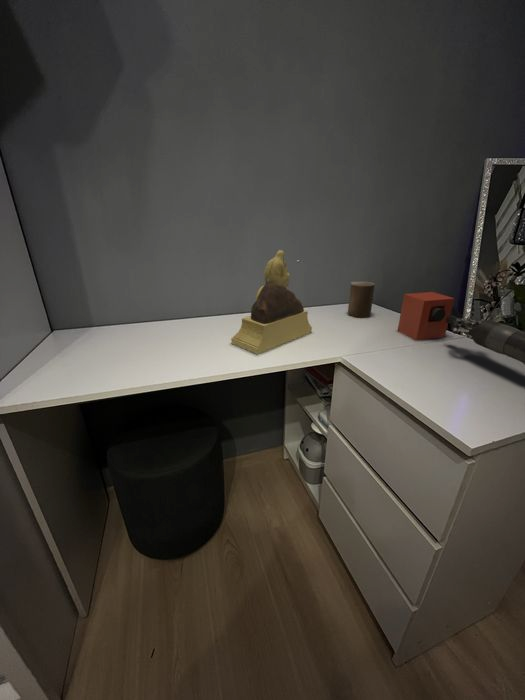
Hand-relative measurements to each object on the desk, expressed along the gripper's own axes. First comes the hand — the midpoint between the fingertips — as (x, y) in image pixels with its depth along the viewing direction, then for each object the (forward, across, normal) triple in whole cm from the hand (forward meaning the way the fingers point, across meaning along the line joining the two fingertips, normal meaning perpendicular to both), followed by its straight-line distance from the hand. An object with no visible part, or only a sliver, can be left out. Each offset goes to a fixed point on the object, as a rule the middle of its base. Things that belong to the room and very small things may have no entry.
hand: (448, 318), depth 97 cm
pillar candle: (+37, -9, -9) cm, 39 cm away
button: (+4, 0, -2) cm, 5 cm away
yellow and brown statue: (+20, -53, -9) cm, 58 cm away
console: (+10, 0, -9) cm, 14 cm away
